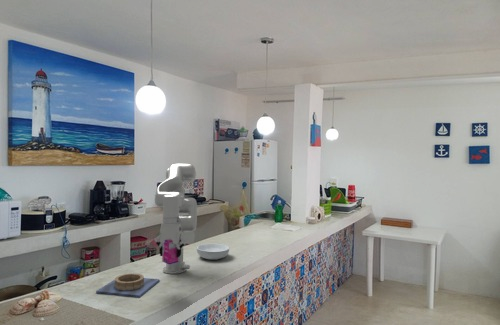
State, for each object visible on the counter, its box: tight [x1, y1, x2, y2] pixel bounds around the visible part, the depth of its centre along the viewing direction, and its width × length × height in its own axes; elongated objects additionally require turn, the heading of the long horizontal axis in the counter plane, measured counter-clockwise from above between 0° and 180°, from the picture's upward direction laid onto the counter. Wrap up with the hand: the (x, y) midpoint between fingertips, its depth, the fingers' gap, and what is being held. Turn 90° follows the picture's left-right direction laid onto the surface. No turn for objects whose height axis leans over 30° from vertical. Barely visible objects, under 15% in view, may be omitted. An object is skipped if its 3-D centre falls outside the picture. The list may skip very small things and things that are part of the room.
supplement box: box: [161, 240, 178, 264], centre depth 178 cm, size 6×6×12 cm
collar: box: [95, 272, 161, 298], centre depth 182 cm, size 22×22×4 cm
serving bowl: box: [196, 243, 230, 261], centre depth 236 cm, size 21×21×7 cm
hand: (170, 255), depth 179 cm, fingers closed on supplement box, 7 cm apart
